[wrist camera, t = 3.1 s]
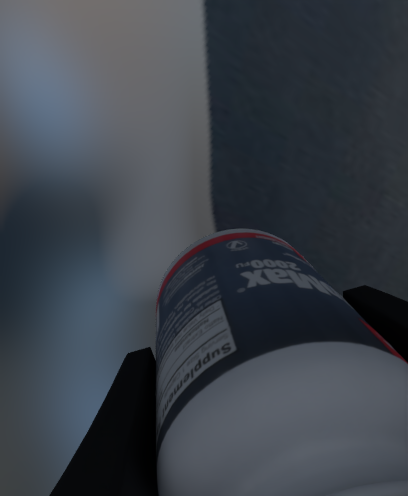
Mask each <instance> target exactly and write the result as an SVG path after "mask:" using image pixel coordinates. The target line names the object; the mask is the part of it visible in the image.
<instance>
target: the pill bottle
mask: <svg viewBox="0 0 408 496" xmlns="http://www.w3.org/2000/svg"><path fill="white" fill-rule="evenodd" d="M155 395H156V469H157V485H158V494H159V496H408V362H407V361H406V360H405V359H404V358H403V357H402V356H401V355H400V354H399V353H397V352H396V351H395V349H394V348H393V347H392V346H391V345H390V344H389V343H388V342H387V341H386V340H385V339H384V338H383V337H382V336H381V335H380V334H379V333H378V332H376V331H375V330H374V329H373V328H372V327H371V326H370V325H369V324H368V323H367V322H366V321H365V320H364V319H363V318H362V317H361V316H360V315H359V314H358V313H357V312H356V311H355V310H354V309H353V308H352V307H351V306H350V305H349V304H348V303H347V302H346V300H345V299H344V298H343V297H342V296H341V295H340V294H338V293H337V292H336V291H335V290H334V289H333V288H332V287H331V286H330V285H329V284H328V283H327V282H326V281H325V280H324V278H323V277H322V276H321V275H320V274H319V273H318V272H317V271H316V270H315V269H314V268H313V267H312V266H311V265H310V264H309V263H308V262H307V261H306V260H305V259H304V258H303V257H302V256H301V255H300V254H299V253H298V252H297V251H296V250H295V249H294V248H293V247H292V246H290V245H289V244H288V243H287V242H285V241H284V240H282V239H280V238H278V237H276V236H274V235H272V234H269V233H266V232H263V231H259V230H252V229H230V230H225V231H220V232H216V233H213V234H211V235H208V236H206V237H204V238H202V239H200V240H198V241H196V242H195V243H193V244H191V245H190V246H189V247H187V248H186V249H185V250H184V251H183V252H182V253H180V255H178V257H177V258H176V259H175V260H174V261H173V262H172V264H171V265H170V266H169V268H168V269H167V271H166V273H165V274H164V277H163V279H162V281H161V284H160V287H159V291H158V295H157V305H156V393H155Z"/></svg>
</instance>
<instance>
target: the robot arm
mask: <svg viewBox="0 0 408 496" xmlns="http://www.w3.org/2000/svg"><path fill="white" fill-rule="evenodd" d="M343 298H344V299H345V300H346V302H347V303H348V304H349V305H350V306H351V307H352V308H353V309H354V310H355V311H356V312H357V313H358V314H359V315H360V316H361V317H362V318H363V319H364V320H365V321H366V322H367V323H368V324H369V325H370V326H371V327H372V328H373V329H374V330H375V331H376V332H378V333H379V334H380V335H381V336H382V337H383V338H384V339H385V340H386V341H387V342H388V343H389V344H390V345H391V346H392V347H393V348H394V349H395V351H396V352H397V353H399V354H400V355H401V356H402V357H403V358H404V359H405V360H406V361H407V362H408V302H407V301H405V300H402V299H400V298H397V297H395V296H392V295H390V294H387V293H385V292H382V291H379V290H377V289H374V288H371V287H368V286H365V285H364V286H360V287H357V288H353V289H350V290H346V291H343ZM155 393H156V361H155V358H154V355H153V353H152V350H151V348H150V347H148V348H145V349H141V350H138V351H134V352H131V353H128V354H127V355H126V357H125V359H124V361H123V363H122V365H121V367H120V369H119V371H118V373H117V375H116V378H115V380H114V382H113V384H112V386H111V388H110V390H109V392H108V394H107V396H106V398H105V400H104V402H103V404H102V406H101V408H100V409H99V411H98V413H97V415H96V417H95V419H94V421H93V423H92V425H91V427H90V428H89V430H88V432H87V434H86V436H85V437H84V439H83V441H82V442H81V444H80V446H79V448H78V449H77V451H76V453H75V454H74V456H73V458H72V460H71V461H70V463H69V465H68V466H67V468H66V470H65V472H64V473H63V475H62V476H61V478H60V480H59V481H58V483H57V484H56V486H55V488H54V489H53V491H52V492H51V494H50V496H159V494H158V485H157V469H156V395H155Z"/></svg>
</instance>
